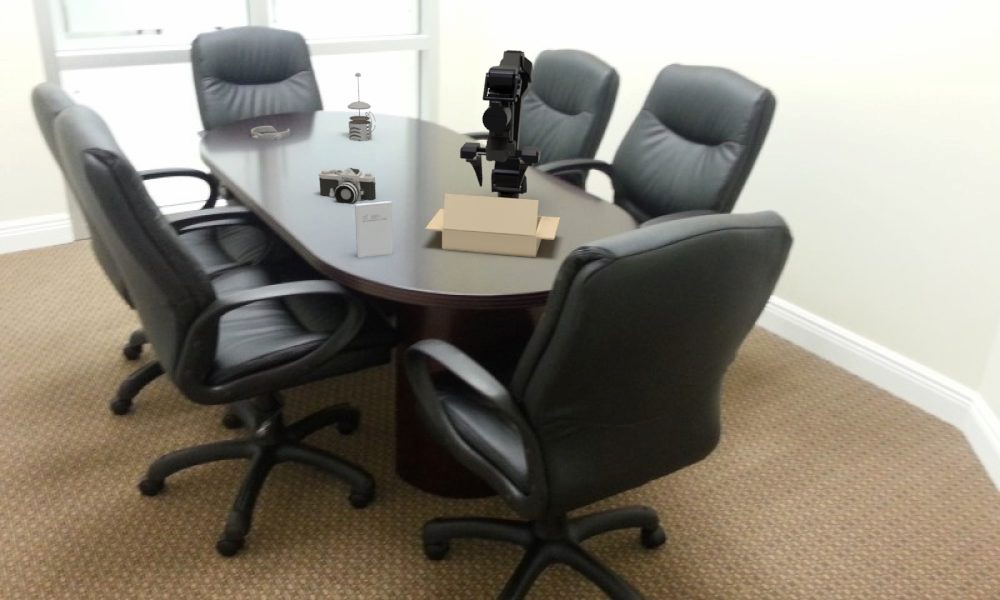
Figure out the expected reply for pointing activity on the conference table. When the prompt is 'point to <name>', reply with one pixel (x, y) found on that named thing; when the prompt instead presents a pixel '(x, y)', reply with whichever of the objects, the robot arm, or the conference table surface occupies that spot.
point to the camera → (347, 185)
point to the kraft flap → (490, 214)
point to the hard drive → (374, 228)
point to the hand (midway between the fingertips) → (499, 187)
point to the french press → (360, 120)
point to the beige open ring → (269, 136)
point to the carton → (495, 238)
